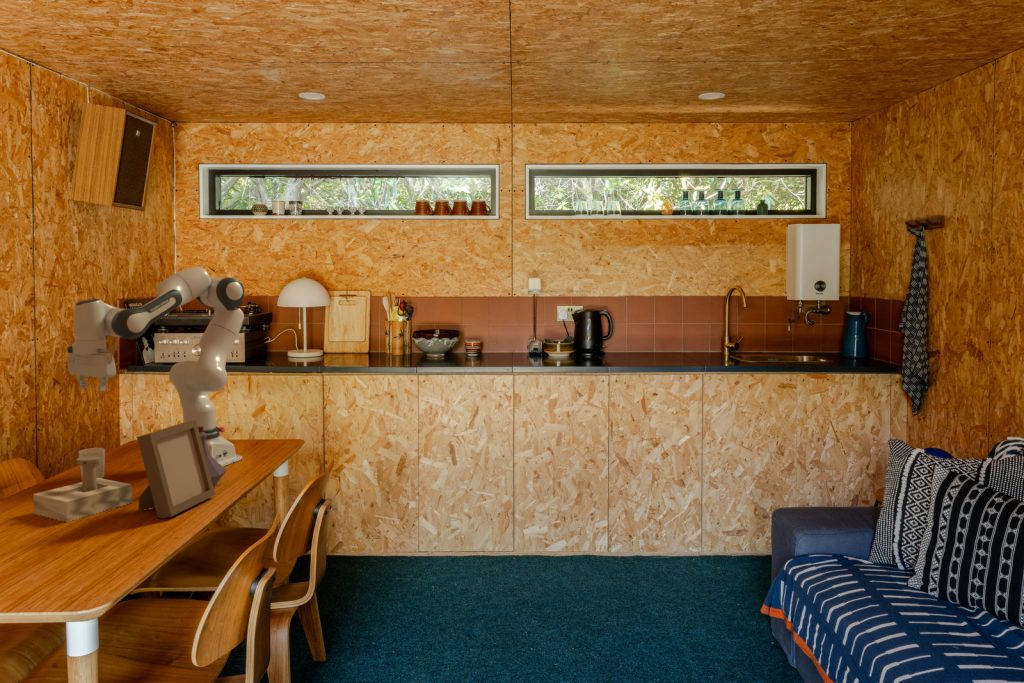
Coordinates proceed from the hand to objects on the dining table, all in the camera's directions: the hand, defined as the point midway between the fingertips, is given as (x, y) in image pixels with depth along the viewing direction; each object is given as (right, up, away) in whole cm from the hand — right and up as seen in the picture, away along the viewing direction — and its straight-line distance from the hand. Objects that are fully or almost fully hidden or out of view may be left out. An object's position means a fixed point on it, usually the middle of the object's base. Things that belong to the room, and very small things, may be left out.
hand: (93, 389), depth 240 cm
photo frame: (+35, -35, -19) cm, 53 cm away
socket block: (+10, -35, -21) cm, 42 cm away
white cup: (-7, -32, +12) cm, 35 cm away
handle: (+10, -35, -19) cm, 41 cm away
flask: (+34, -33, +5) cm, 48 cm away
